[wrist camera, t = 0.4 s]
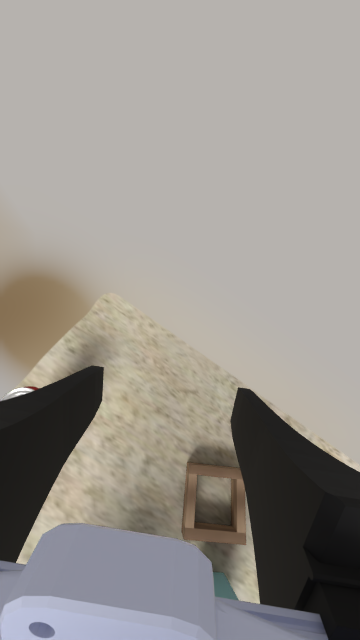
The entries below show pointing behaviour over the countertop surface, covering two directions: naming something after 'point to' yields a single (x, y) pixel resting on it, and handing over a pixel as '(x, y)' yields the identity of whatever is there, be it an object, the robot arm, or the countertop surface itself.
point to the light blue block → (223, 587)
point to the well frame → (238, 521)
